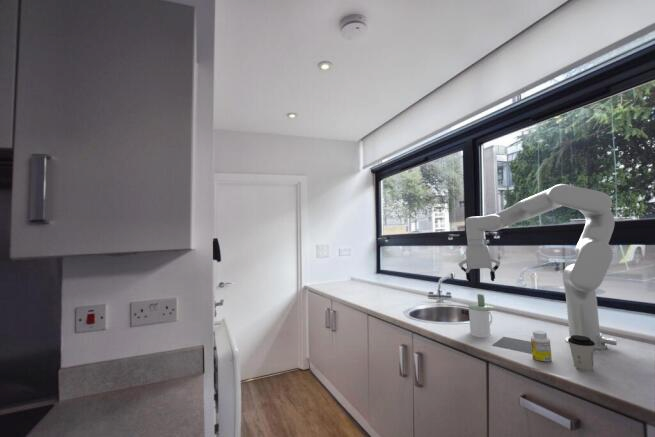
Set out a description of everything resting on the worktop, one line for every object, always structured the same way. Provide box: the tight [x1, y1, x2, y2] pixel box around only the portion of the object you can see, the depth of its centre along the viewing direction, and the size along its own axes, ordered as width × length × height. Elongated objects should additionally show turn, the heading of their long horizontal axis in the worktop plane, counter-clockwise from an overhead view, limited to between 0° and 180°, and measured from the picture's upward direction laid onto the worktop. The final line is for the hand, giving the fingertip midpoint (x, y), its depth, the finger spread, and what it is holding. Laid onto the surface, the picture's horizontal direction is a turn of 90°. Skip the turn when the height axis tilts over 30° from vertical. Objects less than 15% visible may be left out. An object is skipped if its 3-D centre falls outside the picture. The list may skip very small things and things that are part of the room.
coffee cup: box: [568, 335, 595, 373], centre depth 101 cm, size 7×7×10 cm
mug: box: [468, 308, 493, 338], centre depth 138 cm, size 12×8×12 cm
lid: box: [467, 293, 496, 312], centre depth 139 cm, size 11×11×6 cm
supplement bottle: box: [530, 330, 553, 364], centre depth 108 cm, size 6×6×10 cm
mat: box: [491, 336, 532, 355], centre depth 123 cm, size 14×14×1 cm
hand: (480, 281), depth 139 cm, fingers open, 9 cm apart
